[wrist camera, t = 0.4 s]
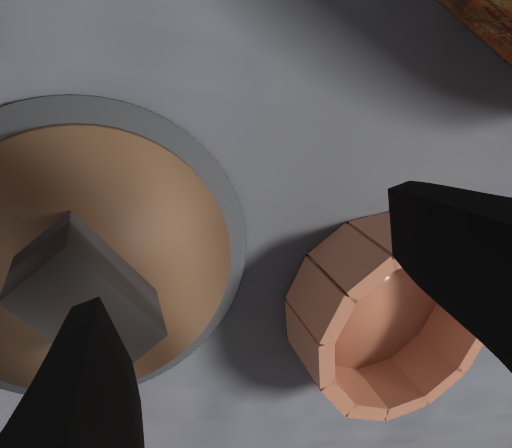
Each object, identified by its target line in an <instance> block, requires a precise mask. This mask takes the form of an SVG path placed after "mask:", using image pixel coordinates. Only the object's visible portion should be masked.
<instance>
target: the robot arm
mask: <svg viewBox="0 0 512 448" xmlns="http://www.w3.org/2000/svg"><path fill="white" fill-rule="evenodd" d="M388 199H389V213H390V228H391V242H392V256H393V257H394V258H395V260H396V261H397V262H398V263H399V265H400V266H401V267H402V268H403V269H404V271H405V272H406V273H407V274H408V275H409V277H410V278H411V279H412V280H413V281H414V282H415V283H416V284H417V285H418V286H419V287H420V288H421V289H422V290H423V291H424V292H425V293H426V294H427V295H428V296H430V297H431V298H432V299H433V300H434V301H435V302H436V303H437V304H438V305H440V306H441V307H442V308H443V309H444V310H445V311H446V312H447V313H449V314H450V315H451V316H452V317H453V318H454V319H455V320H456V321H458V322H459V323H460V324H461V325H462V326H463V327H464V328H466V329H467V330H468V331H469V332H470V333H471V334H472V335H473V336H475V337H476V338H477V339H478V340H479V341H480V342H481V343H483V344H484V345H485V346H486V347H487V348H488V349H489V350H490V351H491V352H492V353H493V354H494V355H495V356H496V357H497V358H498V359H499V360H500V361H501V362H502V363H503V364H504V365H505V366H506V367H507V368H508V369H509V371H510V372H511V373H512V198H510V197H504V196H498V195H493V194H487V193H482V192H476V191H471V190H466V189H460V188H455V187H449V186H444V185H438V184H432V183H425V182H417V181H408V182H405V183H402V184H400V185H397V186H394V187H392V188H389V189H388ZM0 448H145V447H144V434H143V422H142V410H141V400H140V395H139V390H138V385H137V380H136V376H135V371H134V367H133V362H132V359H131V358H130V356H129V354H128V352H127V350H126V348H125V346H124V344H123V342H122V340H121V338H120V336H119V334H118V332H117V330H116V328H115V326H114V324H113V322H112V320H111V318H110V316H109V314H108V312H107V310H106V308H105V306H104V304H103V303H102V301H101V299H100V297H96V298H94V299H91V300H88V301H86V302H83V303H80V304H78V305H75V306H72V307H71V309H70V311H69V312H68V314H67V316H66V318H65V320H64V322H63V324H62V326H61V328H60V330H59V332H58V334H57V336H56V337H55V339H54V341H53V343H52V345H51V347H50V349H49V351H48V353H47V355H46V357H45V359H44V360H43V362H42V364H41V366H40V368H39V370H38V372H37V373H36V375H35V377H34V379H33V381H32V383H31V384H30V386H29V388H28V389H27V391H26V392H25V394H24V396H23V397H22V399H21V401H20V402H19V404H18V406H17V407H16V409H15V411H14V412H13V414H12V416H11V417H10V419H9V420H8V422H7V424H6V425H5V427H4V428H3V430H2V431H1V433H0Z"/></svg>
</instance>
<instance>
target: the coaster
mask: <svg viewBox="0 0 512 448" xmlns="http://www.w3.org/2000/svg"><path fill="white" fill-rule="evenodd" d="M66 123H87V124H99V125H105V126H111V127H117V128H120V129H124V130H127V131H130V132H134V133H137V134H139V135H142V136H144V137H146V138H148V139H151V140H153V141H155V142H157V143H159V144H160V145H162V146H164V147H165V148H167V149H169V150H170V151H172V152H173V153H174V154H176V155H177V156H178V157H179V158H181V159H182V160H183V161H184V162H186V163H187V164H188V165H189V166H190V167H191V168H192V169H193V170H194V171H195V173H196V174H197V175H198V176H199V177H200V178H201V179H202V181H203V182H204V183H205V185H206V186H207V188H208V189H209V190H210V192H211V193H212V195H213V196H214V198H215V200H216V202H217V204H218V206H219V207H220V209H221V211H222V214H223V217H224V220H225V223H226V226H227V230H228V235H229V240H230V254H231V260H230V271H229V277H228V281H227V285H226V289H225V292H224V295H223V297H222V300H221V303H220V305H219V307H218V308H217V310H216V312H215V314H214V316H213V318H212V319H211V321H210V322H209V324H208V325H207V326H206V328H205V329H204V331H203V332H202V333H201V334H200V335H199V336H198V337H197V339H196V340H195V341H194V342H193V343H192V344H191V345H190V346H189V347H187V348H186V349H185V350H184V351H183V352H182V353H181V354H179V355H178V356H177V357H175V358H174V359H173V360H171V361H170V362H169V363H167V364H165V365H164V366H162V367H160V368H159V369H157V370H155V371H154V372H152V373H149V374H147V375H145V376H143V377H141V378H139V379H136V380H137V384H140V383H143V382H145V381H147V380H149V379H152V378H154V377H156V376H158V375H160V374H162V373H163V372H165V371H167V370H169V369H170V368H172V367H174V366H175V365H177V364H178V363H180V362H181V361H182V360H184V359H185V358H186V357H188V356H189V355H190V354H192V353H193V352H194V351H195V350H196V349H197V348H198V347H199V346H200V345H201V344H202V343H204V342H205V340H206V339H207V338H208V337H209V336H210V335H211V334H212V333H213V331H214V330H215V329H216V328H217V326H218V325H219V324H220V322H221V321H222V319H223V318H224V316H225V315H226V313H227V311H228V310H229V308H230V306H231V304H232V302H233V300H234V298H235V296H236V293H237V290H238V288H239V285H240V282H241V278H242V274H243V270H244V266H245V257H246V229H245V223H244V218H243V212H242V209H241V206H240V203H239V200H238V197H237V194H236V192H235V190H234V188H233V186H232V184H231V182H230V180H229V178H228V177H227V175H226V174H225V172H224V171H223V169H222V168H221V166H220V165H219V163H218V162H217V161H216V160H215V159H214V157H213V156H212V155H211V154H210V153H209V152H208V151H207V150H206V149H205V147H204V146H203V145H202V144H200V143H199V142H198V141H197V140H196V139H195V138H193V137H192V136H191V135H190V134H189V133H187V132H186V131H185V130H183V129H182V128H180V127H179V126H177V125H176V124H174V123H173V122H171V121H169V120H168V119H166V118H164V117H162V116H160V115H158V114H156V113H154V112H152V111H149V110H147V109H145V108H142V107H139V106H136V105H133V104H130V103H127V102H124V101H120V100H115V99H110V98H104V97H99V96H88V95H73V94H69V95H52V96H42V97H36V98H31V99H26V100H21V101H16V102H13V103H10V104H7V105H4V106H1V107H0V140H2V139H4V138H6V137H8V136H11V135H13V134H16V133H19V132H22V131H25V130H28V129H32V128H37V127H42V126H47V125H53V124H66ZM0 389H4V390H8V391H12V392H16V393H19V394H25V392H26V391H27V388H23V387H20V386H16V385H12V384H9V383H6V382H4V381H1V380H0Z"/></svg>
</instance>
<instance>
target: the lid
mask: <svg viewBox="0 0 512 448" xmlns="http://www.w3.org/2000/svg"><path fill="white" fill-rule="evenodd" d="M230 260H231V254H230V240H229V235H228V230H227V226H226V223H225V220H224V217H223V214H222V211H221V209H220V207H219V206H218V204H217V202H216V200H215V198H214V196H213V195H212V193H211V192H210V190H209V189H208V188H207V186H206V185H205V183H204V182H203V181H202V179H201V178H200V177H199V176H198V175H197V174H196V173H195V171H194V170H193V169H192V168H191V167H190V166H189V165H188V164H187V163H186V162H184V161H183V160H182V159H181V158H179V157H178V156H177V155H176V154H174V153H173V152H172V151H170V150H169V149H167V148H165V147H164V146H162V145H160V144H159V143H157V142H155V141H153V140H151V139H148V138H146V137H144V136H142V135H139V134H137V133H134V132H130V131H127V130H124V129H120V128H117V127H111V126H105V125H99V124H87V123H66V124H53V125H47V126H42V127H37V128H32V129H28V130H25V131H22V132H19V133H16V134H13V135H11V136H8V137H6V138H4V139H2V140H0V380H1V381H4V382H6V383H9V384H12V385H16V386H20V387H23V388H27V389H28V388H29V386H30V384H31V383H32V381H33V379H34V377H35V375H36V373H37V372H38V370H39V368H40V366H41V364H42V362H43V360H44V359H45V357H46V355H47V353H48V351H49V349H50V347H51V345H52V343H53V341H54V339H55V337H56V336H57V334H58V332H59V330H60V328H61V326H62V324H63V322H64V320H65V318H66V316H67V314H68V312H69V311H70V309H71V307H72V306H75V305H78V304H80V303H83V302H86V301H88V300H91V299H94V298H96V297H100V299H101V301H102V303H103V304H104V306H105V308H106V310H107V312H108V314H109V316H110V318H111V320H112V322H113V324H114V326H115V328H116V330H117V332H118V334H119V336H120V338H121V340H122V342H123V344H124V346H125V348H126V350H127V352H128V354H129V356H130V358H131V359H132V362H133V367H134V371H135V376H136V379H139V378H141V377H143V376H145V375H147V374H149V373H152V372H154V371H155V370H157V369H159V368H160V367H162V366H164V365H165V364H167V363H169V362H170V361H171V360H173V359H174V358H175V357H177V356H178V355H179V354H181V353H182V352H183V351H184V350H185V349H186V348H187V347H189V346H190V345H191V344H192V343H193V342H194V341H195V340H196V339H197V337H198V336H199V335H200V334H201V333H202V332H203V331H204V329H205V328H206V326H207V325H208V324H209V322H210V321H211V319H212V318H213V316H214V314H215V312H216V310H217V308H218V307H219V305H220V303H221V300H222V297H223V295H224V292H225V289H226V285H227V281H228V277H229V271H230Z"/></svg>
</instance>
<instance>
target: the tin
mask: <svg viewBox="0 0 512 448" xmlns="http://www.w3.org/2000/svg"><path fill="white" fill-rule="evenodd" d="M437 1H438V2H439V3H440V4H442V5H443V6H444V7H445V8H446V9H447V10H449V11H450V12H451V13H452V14H453V15H454V16H455V17H456V18H458V19H459V20H460V21H461V22H462V23H463V24H464V25H465V26H467V27H468V28H469V29H470V30H471V31H472V32H474V33H475V34H476V35H477V36H478V37H479V38H481V39H482V40H483V41H484V42H485V43H486V44H487V45H489V46H490V47H491V48H492V49H493V50H494V51H495V52H496V53H497V54H498V55H500V56H501V57H502V58H503V59H504V60H505V61H506V62H508V63H509V64H510V65H511V66H512V0H437Z"/></svg>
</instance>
